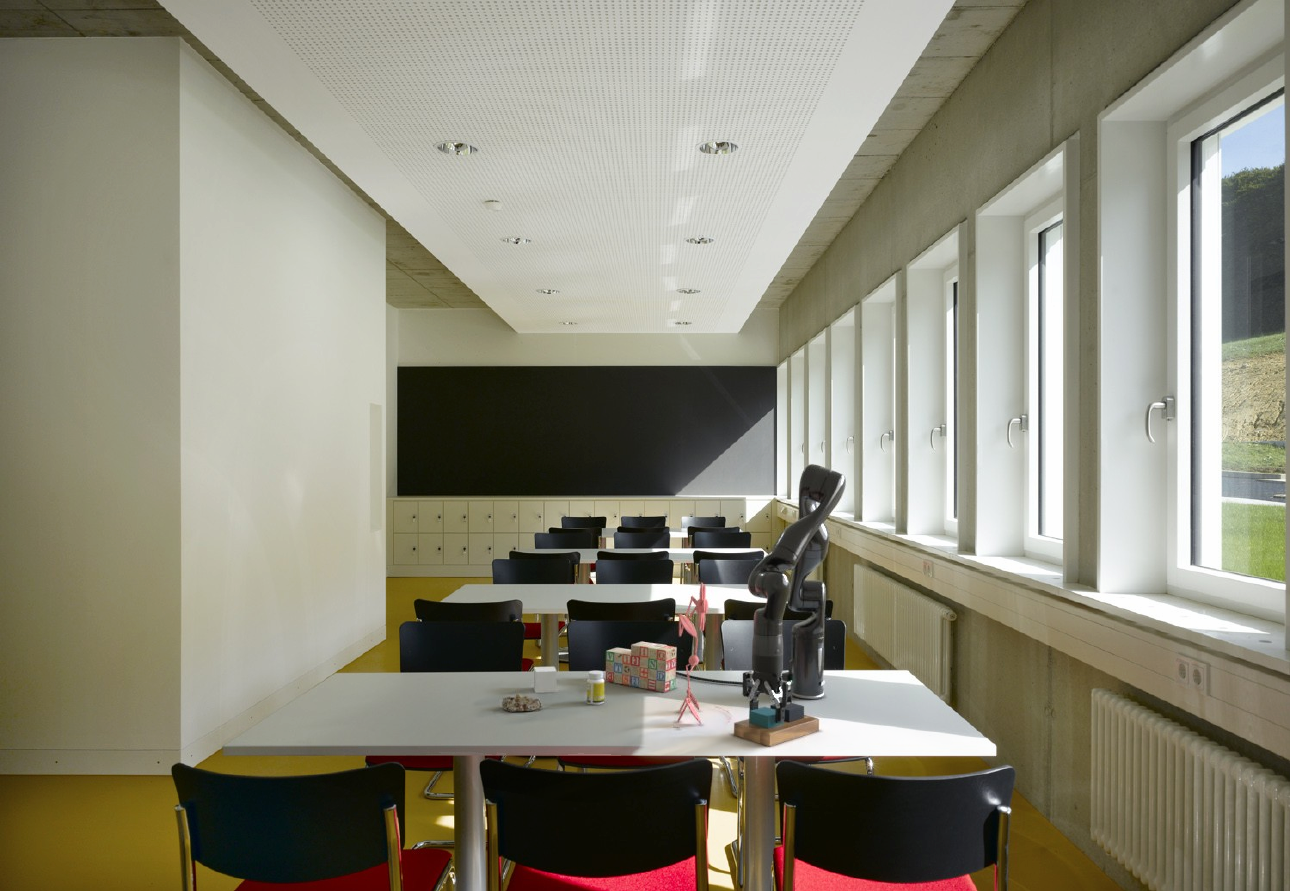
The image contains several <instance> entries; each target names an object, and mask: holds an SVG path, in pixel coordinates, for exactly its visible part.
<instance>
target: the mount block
mask: <svg viewBox="0 0 1290 891" xmlns="http://www.w3.org/2000/svg"><path fill="white" fill-rule="evenodd" d="M819 731H820V718H818V717H814V716H810V715H807V714H804V718H803V719H799V720H796V721H793V722H790V723H789V722H785V721H784V724H783V725H780V726H776V727H773V728H770V729H767V728H763V727H760V726H757V725H753V724H750V723H749V718H746V719H742V720H740V721H736V722H735V721H734V722H733V735H734V736H736V737H739V738H742V739H744V740H748V741H751V742H754V743H757V744H760V745H764V746H766V747H772V746H776V745H779V744H782V743H785V742H788V741H791V740H794V739H798V738H801V737H803V736H806V735H809V734H813V733H816V732H819Z"/></svg>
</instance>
